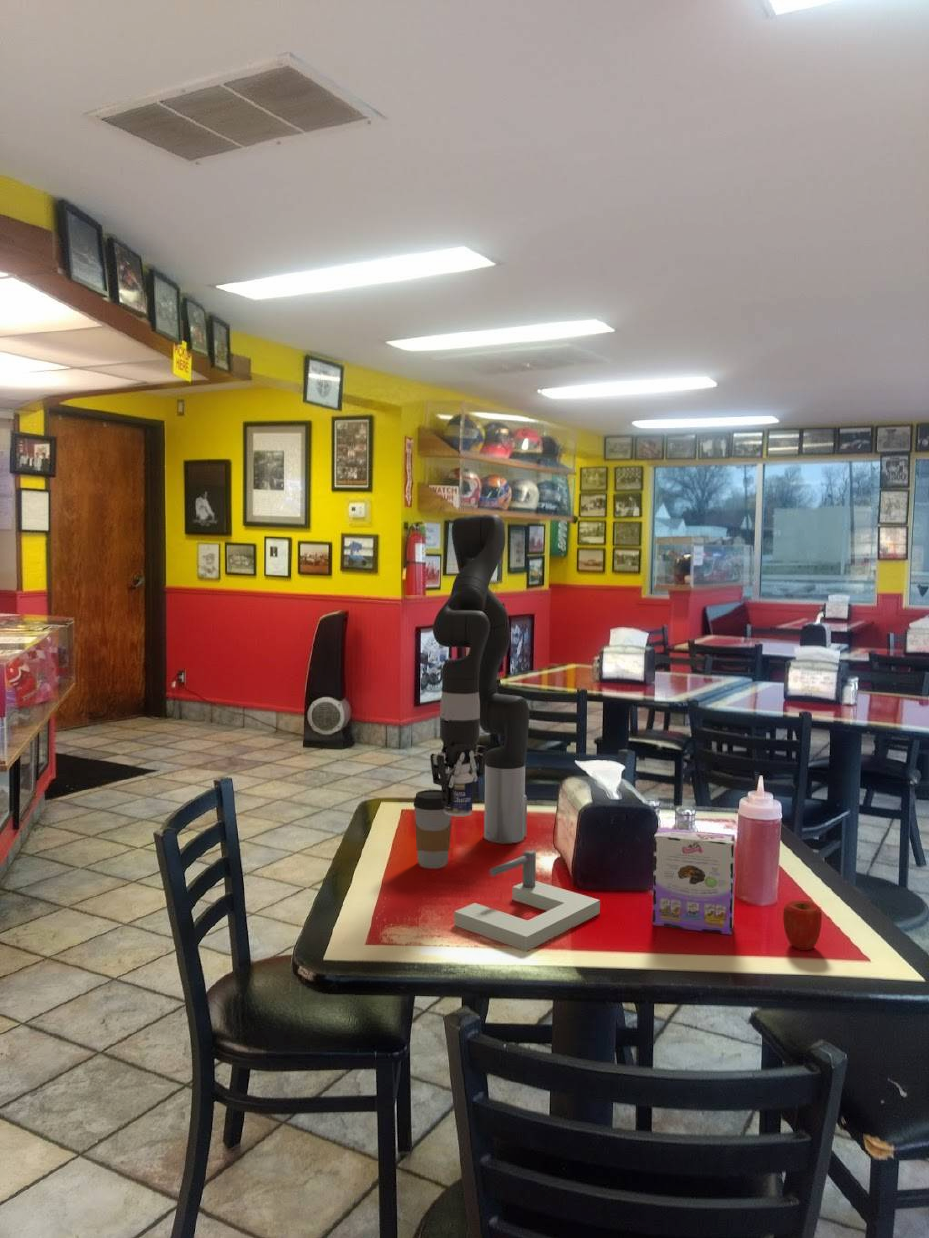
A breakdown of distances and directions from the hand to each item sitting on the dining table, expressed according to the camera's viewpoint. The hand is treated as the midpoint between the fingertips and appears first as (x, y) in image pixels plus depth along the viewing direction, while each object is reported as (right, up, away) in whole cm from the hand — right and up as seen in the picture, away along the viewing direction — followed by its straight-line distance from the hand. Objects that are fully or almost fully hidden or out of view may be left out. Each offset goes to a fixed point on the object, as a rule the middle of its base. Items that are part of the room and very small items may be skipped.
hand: (458, 803), depth 178 cm
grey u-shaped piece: (+13, -19, -10) cm, 25 cm away
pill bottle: (0, -2, 0) cm, 2 cm away
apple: (+58, -20, -20) cm, 65 cm away
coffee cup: (-6, -17, +19) cm, 26 cm away
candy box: (+42, -20, -11) cm, 48 cm away
